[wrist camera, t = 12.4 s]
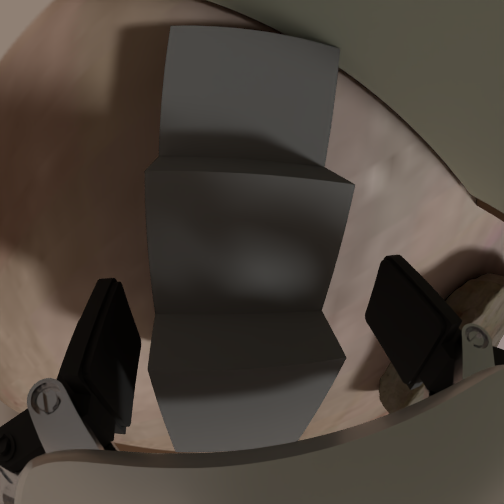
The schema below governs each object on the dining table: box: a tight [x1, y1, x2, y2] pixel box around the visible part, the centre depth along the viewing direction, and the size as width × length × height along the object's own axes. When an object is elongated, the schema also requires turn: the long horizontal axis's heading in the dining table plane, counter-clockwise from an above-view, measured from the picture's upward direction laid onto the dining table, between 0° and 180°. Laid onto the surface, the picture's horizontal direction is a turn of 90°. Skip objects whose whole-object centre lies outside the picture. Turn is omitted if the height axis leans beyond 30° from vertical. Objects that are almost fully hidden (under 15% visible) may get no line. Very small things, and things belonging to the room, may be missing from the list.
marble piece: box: [379, 273, 504, 414], centre depth 18 cm, size 17×15×4 cm
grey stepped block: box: [145, 26, 355, 452], centre depth 8 cm, size 14×5×6 cm, turn 174°
